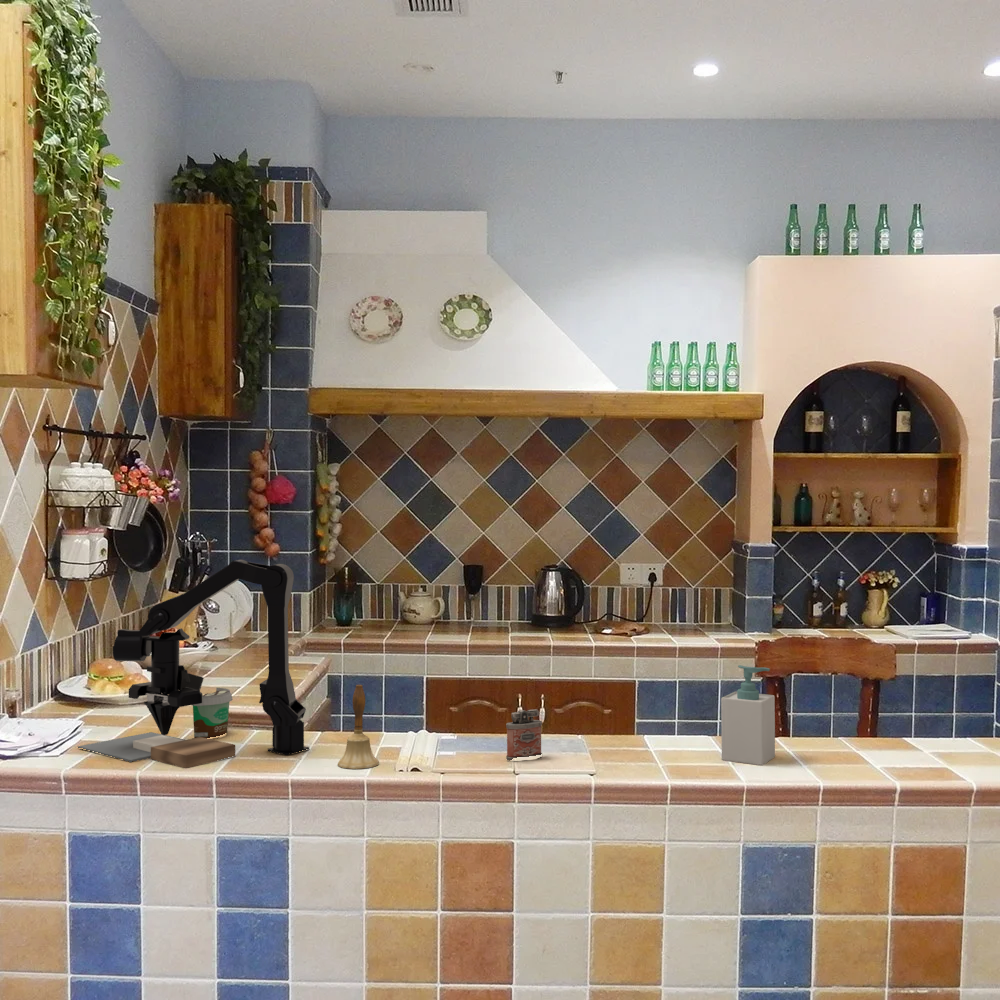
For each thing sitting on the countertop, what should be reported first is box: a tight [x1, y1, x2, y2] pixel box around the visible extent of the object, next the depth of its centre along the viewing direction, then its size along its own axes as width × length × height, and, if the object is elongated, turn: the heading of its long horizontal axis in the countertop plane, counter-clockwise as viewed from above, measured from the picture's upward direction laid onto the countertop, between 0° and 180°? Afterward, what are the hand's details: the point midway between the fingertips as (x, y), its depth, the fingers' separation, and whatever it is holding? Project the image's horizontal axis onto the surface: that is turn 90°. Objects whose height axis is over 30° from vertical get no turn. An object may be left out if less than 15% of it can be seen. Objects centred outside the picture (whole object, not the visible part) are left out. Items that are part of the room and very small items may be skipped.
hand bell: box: [337, 684, 380, 770], centre depth 201 cm, size 8×8×16 cm
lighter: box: [505, 709, 543, 760], centre depth 205 cm, size 8×3×10 cm, turn 117°
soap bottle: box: [720, 665, 776, 766], centre depth 205 cm, size 9×9×19 cm
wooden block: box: [150, 737, 236, 769], centre depth 206 cm, size 12×12×2 cm
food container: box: [190, 687, 233, 738], centre depth 227 cm, size 12×6×10 cm, turn 168°
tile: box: [133, 735, 183, 752], centre depth 212 cm, size 10×7×2 cm
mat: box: [77, 731, 186, 763], centre depth 215 cm, size 20×18×1 cm
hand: (164, 734), depth 212 cm, fingers closed
